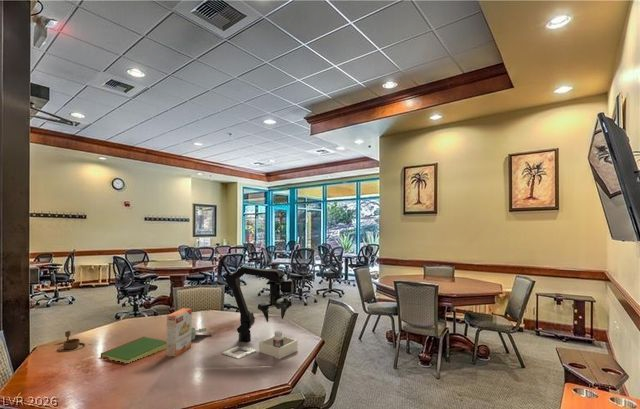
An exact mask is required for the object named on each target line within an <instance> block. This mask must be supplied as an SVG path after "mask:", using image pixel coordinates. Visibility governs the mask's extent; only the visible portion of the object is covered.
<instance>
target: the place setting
mask: <svg viewBox="0 0 640 409" xmlns="http://www.w3.org/2000/svg"><path fill="white" fill-rule="evenodd" d="M64 335H65V337H66V340H65V341H63V344H62V346H59V347H58V348H57V352H60V353H69V352H74V351H78V350H82V349H83V348H85V347H86V343H84V342H80V338H71V339H69V337H71V331H70V330H67V331H65V333H64ZM80 345H82V347H80V348H78V347H79V346H80ZM89 346H92V344H91V343H90V344H89ZM62 348H63V349H64V351H62V350H60V349H62Z"/></svg>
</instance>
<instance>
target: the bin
mask: <svg viewBox="0 0 640 409" xmlns="http://www.w3.org/2000/svg"><path fill="white" fill-rule="evenodd" d="M274 336H275V335H273V336H271V337H268V338H266V339H265V340H262V341H259V342H258V352H259V353H262V354H265V355H269V356H271V357H273V358H275V359H278V360H280V359H282V358H285V357H286V356H289V355H291V354H293V353H296V352H298V340H297V339H295V338H292V337H289V336H288V337H287V336H285V335H282V336H283V337H284V343H283V346H282V347H280V348H277V347H274V346H273V337H274Z"/></svg>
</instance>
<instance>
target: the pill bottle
mask: <svg viewBox="0 0 640 409" xmlns="http://www.w3.org/2000/svg"><path fill="white" fill-rule="evenodd" d="M273 334H274V335H273V336H274V337H273V336H272V337H273V346H274V347H277V348H280V347H282V346H283V343H284V337H283V336H284V335H283V331H282V330H276V331H274V333H273Z"/></svg>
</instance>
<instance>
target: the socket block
mask: <svg viewBox="0 0 640 409" xmlns="http://www.w3.org/2000/svg"><path fill="white" fill-rule="evenodd" d="M237 351H243V352H242V353H240V354H236V353H235V352H237ZM255 353H257V349H255V348H251V347H250V346H249V347H248V346H246V345H243V344H239V345H237V346H234V347H232V348H229V349H228V350H224V351H222V352H221V354H222V355H224V356H228V357H231V358H234V359H237V360H239V359H240V360H241V359H242V358H244V357H245V358H246V357H248V356H250V355H253V354H255Z"/></svg>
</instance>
